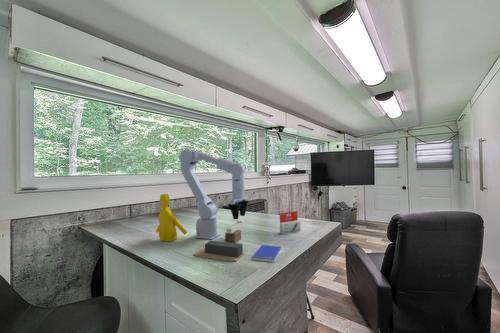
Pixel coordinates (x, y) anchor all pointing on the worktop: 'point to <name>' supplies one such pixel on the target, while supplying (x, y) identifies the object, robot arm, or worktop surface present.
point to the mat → (203, 254)
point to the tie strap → (235, 226)
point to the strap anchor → (233, 236)
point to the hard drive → (267, 253)
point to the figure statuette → (167, 221)
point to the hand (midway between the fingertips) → (239, 217)
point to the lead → (224, 248)
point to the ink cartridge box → (289, 223)
